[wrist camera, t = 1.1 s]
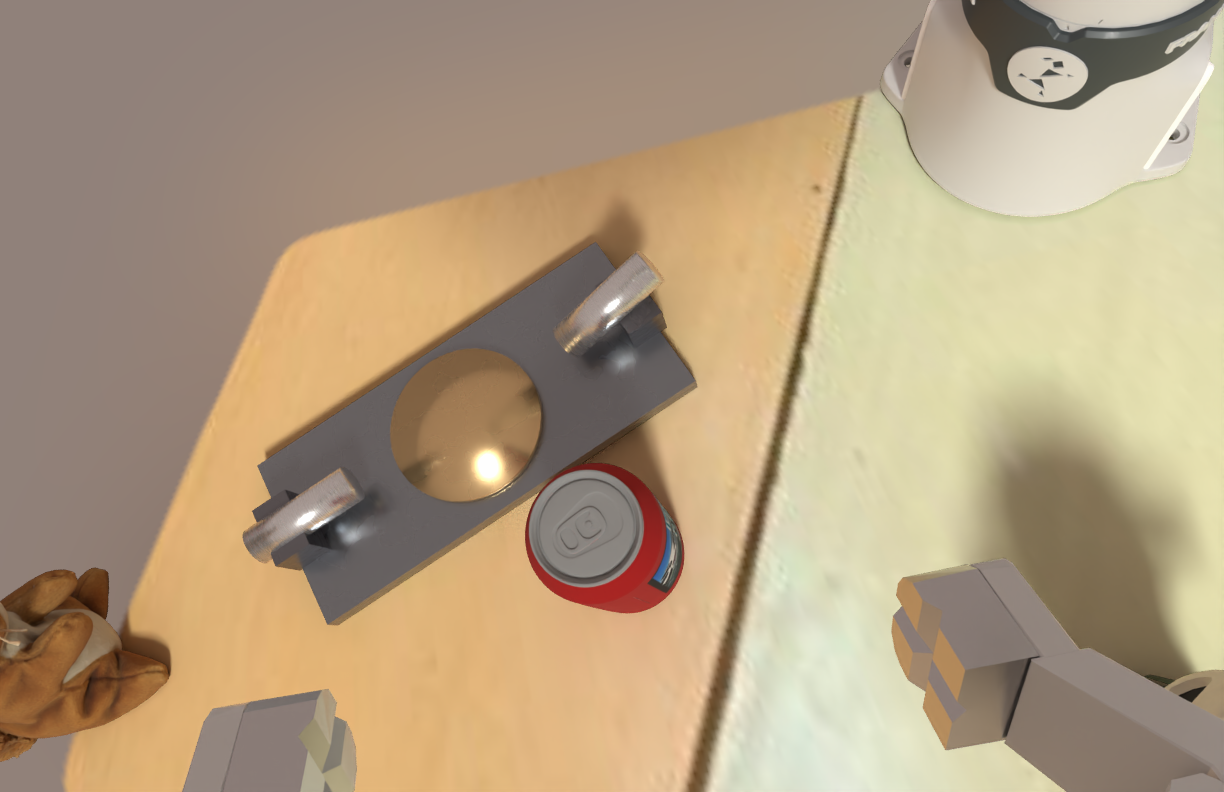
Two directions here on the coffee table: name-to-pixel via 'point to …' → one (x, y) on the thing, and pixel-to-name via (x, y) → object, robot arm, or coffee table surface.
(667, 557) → the beverage can
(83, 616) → the squirrel figurine
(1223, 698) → the character mug
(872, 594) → the coffee table surface
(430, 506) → the shaft bed
